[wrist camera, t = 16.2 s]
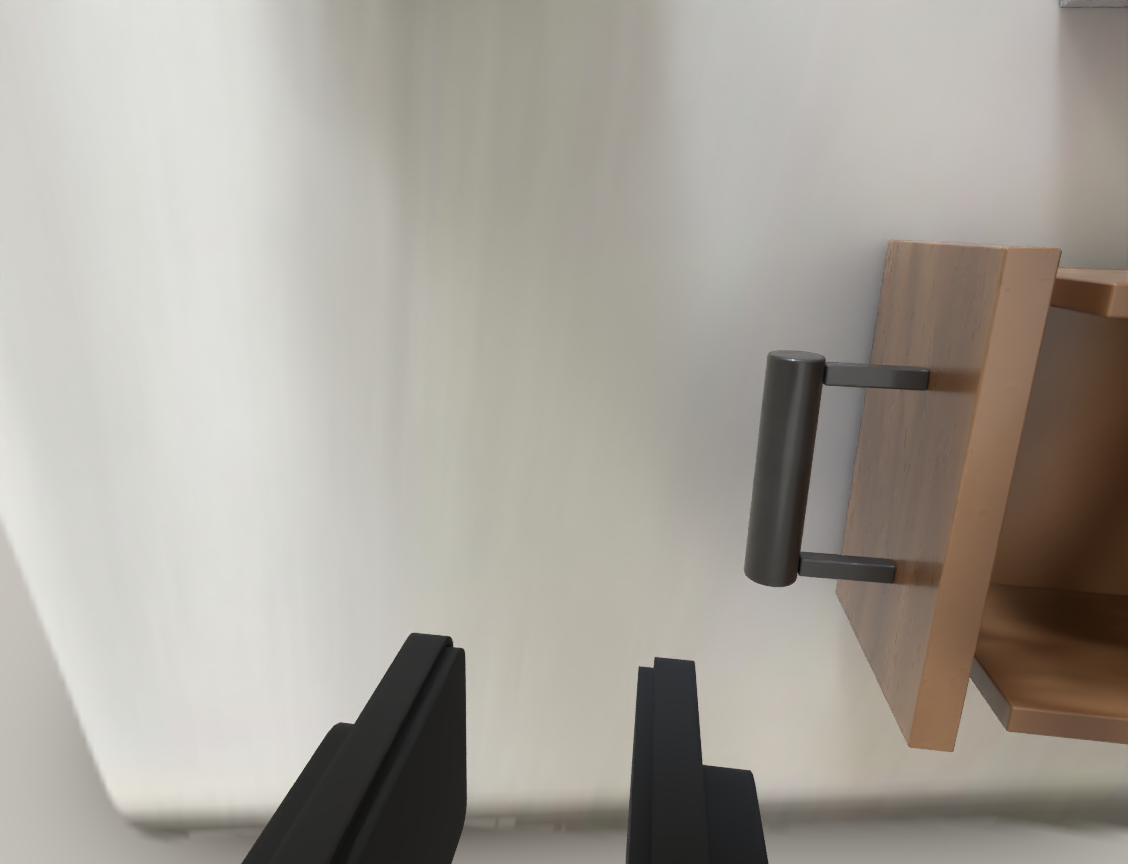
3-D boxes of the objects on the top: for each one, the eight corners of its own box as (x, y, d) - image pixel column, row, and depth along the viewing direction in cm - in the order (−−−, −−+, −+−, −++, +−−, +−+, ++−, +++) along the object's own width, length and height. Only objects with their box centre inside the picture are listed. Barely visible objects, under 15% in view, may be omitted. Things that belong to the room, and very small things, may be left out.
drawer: (720, 582, 29) (745, 729, 20) (755, 235, 25) (803, 240, 17) (1241, 628, 26) (1510, 815, 18) (1365, 255, 23) (1777, 272, 14)
